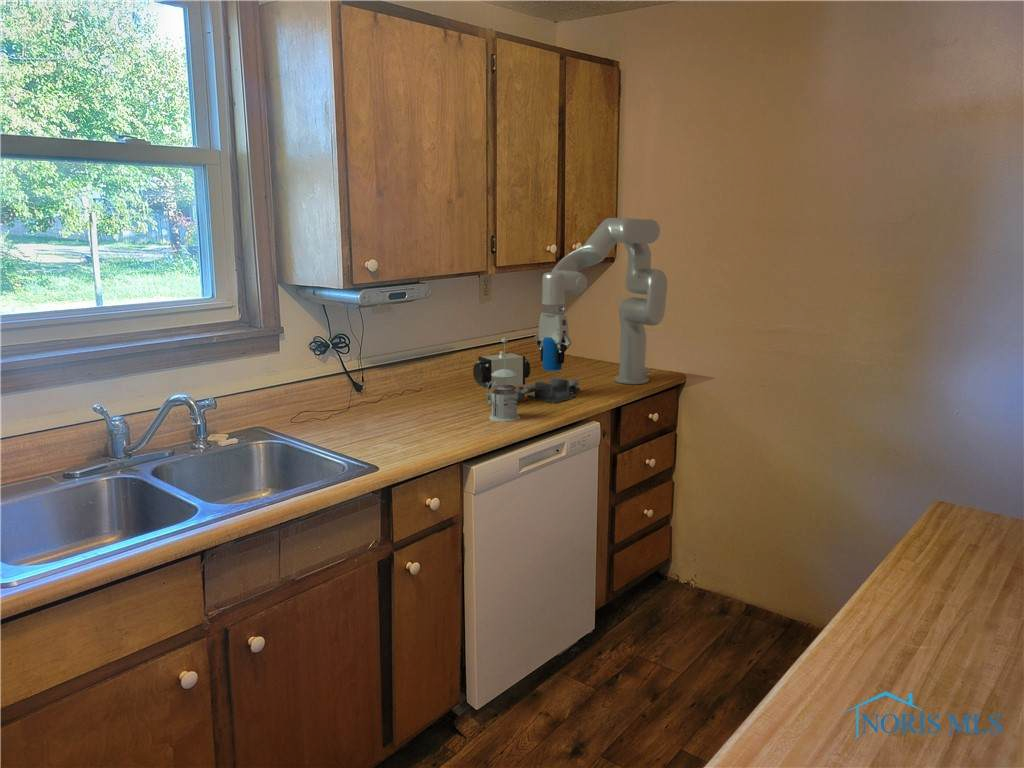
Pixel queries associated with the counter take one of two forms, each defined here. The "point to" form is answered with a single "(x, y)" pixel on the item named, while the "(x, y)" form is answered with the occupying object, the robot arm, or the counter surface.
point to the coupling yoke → (549, 390)
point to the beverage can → (550, 355)
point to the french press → (503, 396)
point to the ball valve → (495, 363)
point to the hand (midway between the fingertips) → (552, 361)
